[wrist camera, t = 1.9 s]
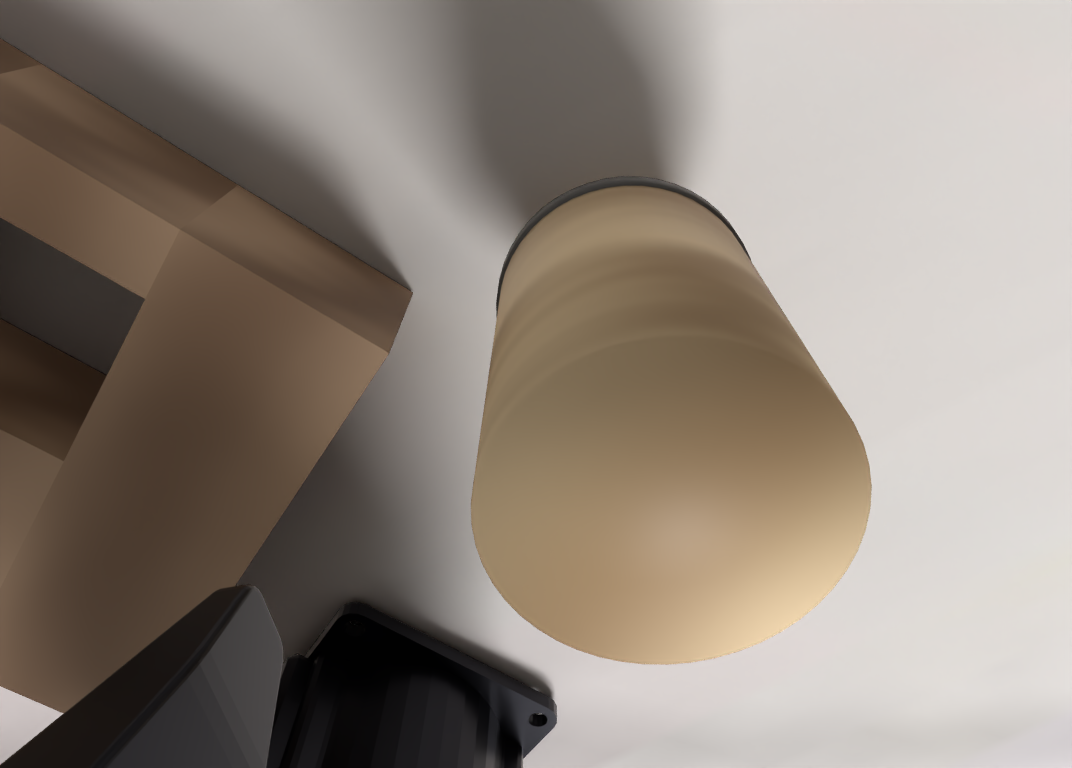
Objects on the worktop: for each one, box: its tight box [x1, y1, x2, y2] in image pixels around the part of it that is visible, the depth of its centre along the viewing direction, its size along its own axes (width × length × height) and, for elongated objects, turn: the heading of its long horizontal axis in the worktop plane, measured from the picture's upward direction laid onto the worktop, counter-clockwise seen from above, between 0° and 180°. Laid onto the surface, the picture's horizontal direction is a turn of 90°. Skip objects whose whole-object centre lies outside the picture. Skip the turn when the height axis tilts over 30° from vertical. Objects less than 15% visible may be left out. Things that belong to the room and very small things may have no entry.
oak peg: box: [471, 177, 871, 664], centre depth 14 cm, size 4×4×9 cm
